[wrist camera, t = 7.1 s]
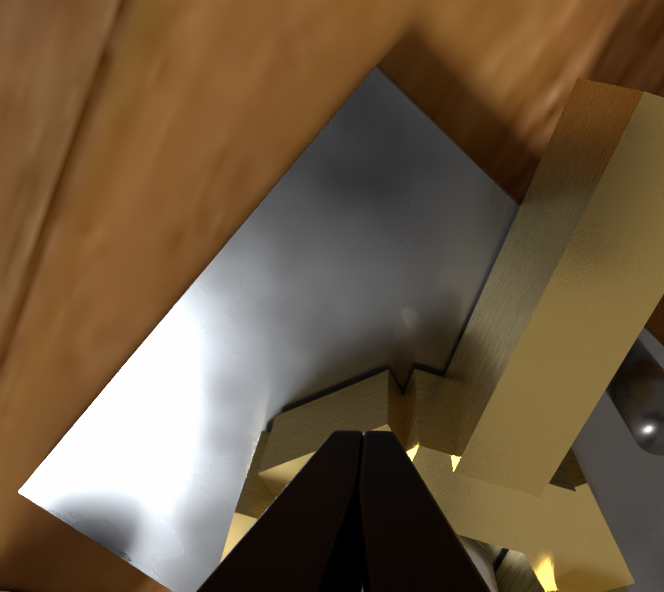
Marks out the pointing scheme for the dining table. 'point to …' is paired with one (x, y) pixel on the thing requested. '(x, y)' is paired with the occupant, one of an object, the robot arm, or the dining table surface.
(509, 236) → the wooden ring wrench
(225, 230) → the dining table surface
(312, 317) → the steel plate
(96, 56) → the dining table surface
